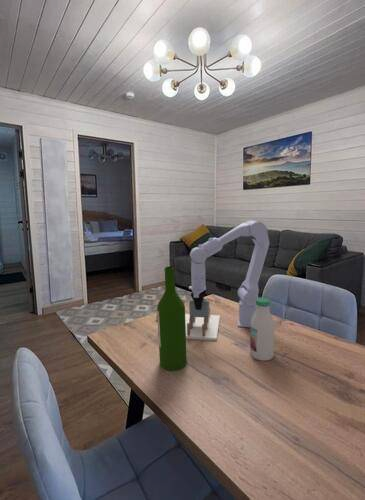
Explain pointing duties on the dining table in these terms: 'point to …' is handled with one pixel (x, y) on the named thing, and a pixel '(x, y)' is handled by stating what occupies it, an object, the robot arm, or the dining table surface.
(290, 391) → the dining table surface
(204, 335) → the peg rack
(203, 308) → the slate grey rectangular block
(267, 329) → the milk bottle
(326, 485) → the dining table surface
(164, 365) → the wine bottle
